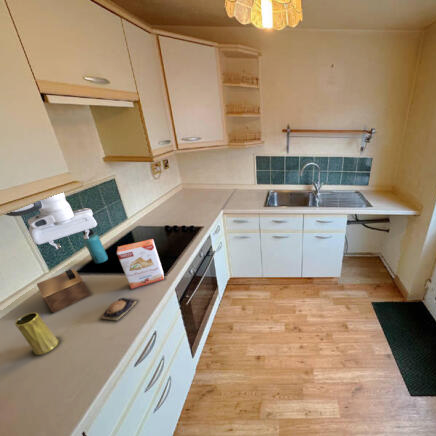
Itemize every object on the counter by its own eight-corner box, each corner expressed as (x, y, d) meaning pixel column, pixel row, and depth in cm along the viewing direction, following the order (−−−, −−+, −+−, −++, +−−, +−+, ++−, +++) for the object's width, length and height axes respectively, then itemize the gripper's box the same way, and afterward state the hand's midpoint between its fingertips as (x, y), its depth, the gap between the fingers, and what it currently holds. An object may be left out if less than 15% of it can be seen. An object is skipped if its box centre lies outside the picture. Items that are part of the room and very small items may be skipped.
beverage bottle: (111, 257, 129) (97, 226, 121) (106, 264, 124) (92, 232, 115) (97, 260, 127) (83, 228, 119) (92, 267, 122) (76, 234, 113)
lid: (43, 298, 91) (39, 292, 89) (37, 285, 98) (33, 279, 96) (83, 280, 100) (80, 275, 98) (75, 270, 107) (72, 264, 105)
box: (53, 313, 94) (43, 298, 91) (46, 299, 101) (37, 285, 98) (90, 295, 103) (83, 281, 100) (82, 283, 110) (75, 270, 107)
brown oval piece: (117, 322, 90) (114, 315, 88) (99, 318, 92) (96, 312, 90) (138, 301, 99) (136, 295, 98) (122, 299, 101) (119, 292, 99)
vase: (50, 353, 78) (29, 325, 72) (29, 356, 78) (6, 327, 71) (63, 338, 84) (44, 310, 78) (44, 340, 83) (23, 312, 77)
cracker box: (131, 290, 106) (115, 252, 97) (131, 282, 111) (117, 246, 102) (164, 279, 112) (152, 243, 103) (164, 272, 117) (152, 237, 108)
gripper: (87, 204, 102) (99, 231, 108) (21, 221, 87) (39, 251, 93) (92, 208, 98) (104, 235, 104) (24, 226, 84) (42, 257, 90)
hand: (73, 243), depth 99 cm, fingers open, 8 cm apart
